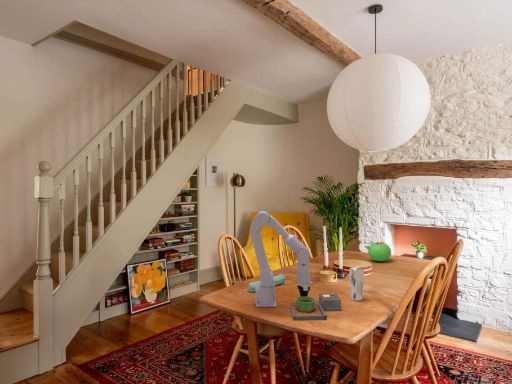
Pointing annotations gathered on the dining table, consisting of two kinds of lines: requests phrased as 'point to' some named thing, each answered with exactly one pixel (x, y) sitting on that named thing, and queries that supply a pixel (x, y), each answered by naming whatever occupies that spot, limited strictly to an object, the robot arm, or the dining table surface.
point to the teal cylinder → (277, 280)
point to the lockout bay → (309, 317)
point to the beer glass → (356, 283)
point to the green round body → (378, 251)
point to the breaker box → (330, 301)
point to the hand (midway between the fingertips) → (303, 301)
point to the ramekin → (305, 303)
